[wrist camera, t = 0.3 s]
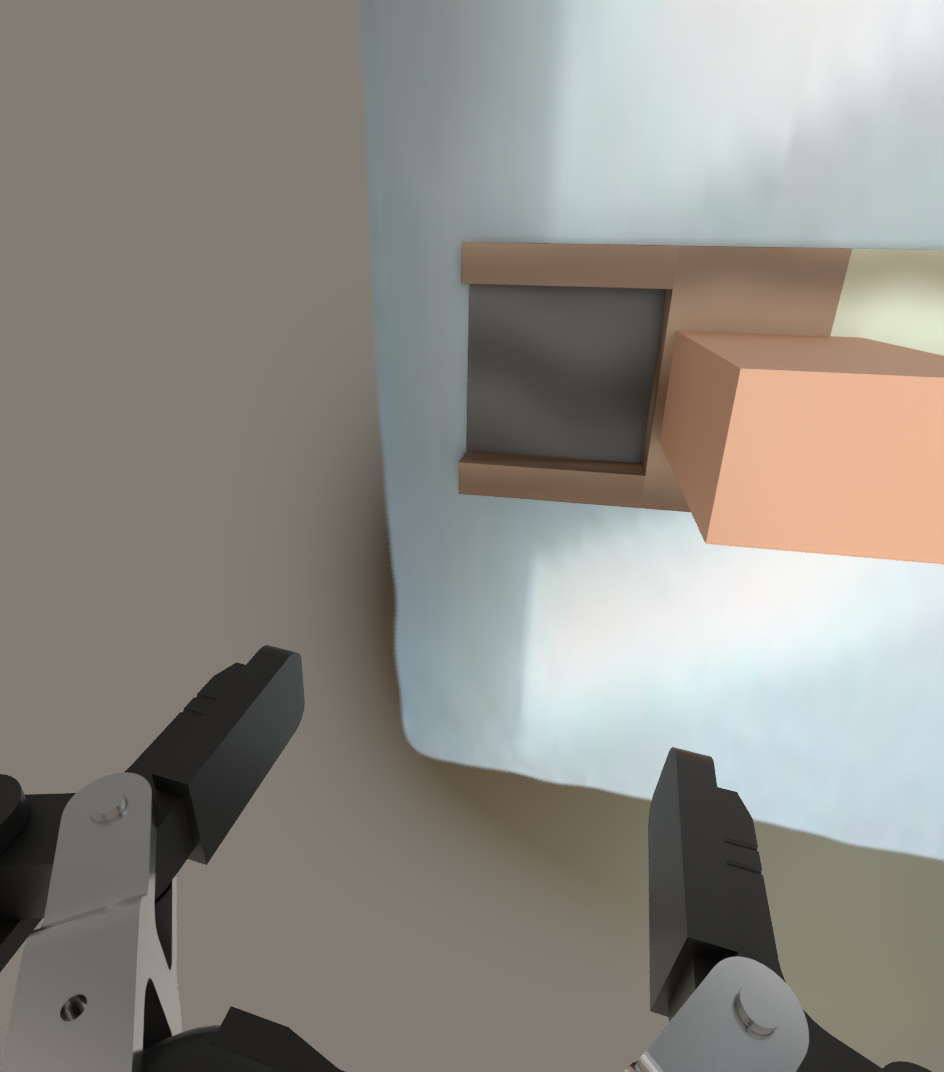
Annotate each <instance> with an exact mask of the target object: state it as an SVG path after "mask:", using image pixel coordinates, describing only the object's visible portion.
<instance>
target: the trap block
mask: <svg viewBox="0 0 944 1072" xmlns="http://www.w3.org/2000/svg"><path fill="white" fill-rule="evenodd" d="M659 443H660V445H661V447H662V449H663V452H664V454H665V456H666V458H667V460H668V462H669V465H670V467H671V469H672V471H673V473H674V476H675V478H676V480H677V482H678V484H679V486H680V489H681V491H682V493H683V495H684V497H685V500H686V502H687V504H688V506H689V508H690V510H691V513H692V515H693V517H694V519H695V521H696V523H697V526H698V528H699V530H700V532H701V534H702V537H703V539H704V541H705V543H706V544H716V545H727V546H739V547H750V548H762V549H774V550H785V551H797V552H808V553H820V554H831V555H843V556H854V557H866V558H878V559H889V560H901V561H912V562H924V563H935V564H944V356H943V355H938V354H934V353H929V352H925V351H920V350H916V349H911V348H907V347H902V346H898V345H893V344H889V343H884V342H880V341H875V340H871V339H866V338H860V337H833V336H806V335H779V334H752V333H725V332H698V331H677V332H676V338H675V345H674V351H673V358H672V364H671V371H670V377H669V384H668V390H667V397H666V403H665V410H664V416H663V423H662V429H661V436H660V442H659Z"/></svg>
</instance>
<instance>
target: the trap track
mask: <svg viewBox="0 0 944 1072" xmlns="http://www.w3.org/2000/svg"><path fill="white" fill-rule="evenodd" d="M461 283H465V284H470V296H469V348H468V401H467V451H466V453H465V454H464V456H463V457H462V459H461V460H460V462H459V494H470V495H483V496H495V497H508V498H520V499H533V500H546V501H558V502H571V503H583V504H596V505H609V506H621V507H634V508H646V509H659V510H672V511H684V512H691V510H690V508H689V506H688V504H687V502H686V500H685V497H684V495H683V493H682V491H681V489H680V486H679V484H678V482H677V480H676V478H675V476H674V473H673V471H672V469H671V467H670V465H669V462H668V460H667V458H666V456H665V454H664V452H663V449H662V447H661V445H660V443H659V442H660V436H661V429H662V423H663V416H664V410H665V403H666V397H667V390H668V384H669V377H670V371H671V364H672V358H673V351H674V345H675V338H676V332H677V331H698V332H725V333H752V334H779V335H806V336H833V337H860V338H866V339H871V340H875V341H880V342H884V343H889V344H893V345H898V346H902V347H907V348H911V349H916V350H920V351H925V352H929V353H934V354H938V355H943V356H944V250H906V249H846V248H787V247H728V246H668V245H609V244H550V243H490V242H462V281H461Z"/></svg>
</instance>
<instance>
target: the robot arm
mask: <svg viewBox="0 0 944 1072" xmlns="http://www.w3.org/2000/svg"><path fill="white" fill-rule="evenodd" d="M301 662H302V661H301V656H300V654H299V653H296V652H292V651H288V650H284V649H280V648H276V647H272V646H268V645H266V646H263V647H262V648H261V649H260V650H259V651H258V652H257V653H256V654H255V656H253V658H252V659H251V660H250V661H249V662H248V663H247V665H244V664H240V663H235V664H233V665H232V666H230V667H228V668H227V669H225V670H223V671H222V672H220V673H218V674H217V675H215V676H213V678H212V679H211V680H210V681H209V682H208V683H207V684H206V685H205V686H204V687H203V688H202V689H201V691H200V692H199V693H198V694H197V697H196V698H193V699H192V700H191V701H190V702H189V704H188V705H187V706H186V707H185V708H184V711H183V712H182V713H181V712H180V713H179V714H178V716H176V718H175V719H174V720H173V721H172V722H171V723H170V724H169V725H168V726H167V727H166V728H165V730H164V731H163V732H162V733H161V734H160V735H159V736H158V737H157V738H156V740H154V741H153V743H152V744H151V745H150V746H149V747H148V748H147V749H146V750H145V751H144V752H143V753H142V754H141V756H140V757H139V758H138V759H137V760H136V761H135V762H134V763H133V764H132V765H131V766H130V767H129V768H128V769H127V770H126V771H125V772H122V773H114V774H110V775H106V776H103V777H101V778H98V779H96V780H94V781H92V782H90V783H89V784H87V785H86V786H84V787H83V788H82V789H80V790H79V791H78V792H77V793H67V794H36V795H24V793H23V790H22V788H21V786H20V784H19V782H18V781H17V780H16V779H14V778H13V777H11V776H8V775H2V774H0V972H1V971H2V969H3V968H4V967H5V965H6V964H7V963H8V962H9V960H10V959H11V958H12V957H13V955H14V954H15V953H16V951H17V950H18V949H19V947H20V946H21V945H22V944H23V942H24V941H25V940H26V942H25V945H24V948H23V952H22V957H21V962H20V967H19V972H18V977H17V982H16V988H15V993H14V998H13V1003H12V1008H11V1014H10V1019H9V1024H8V1029H7V1034H6V1039H5V1044H4V1050H3V1055H2V1060H1V1065H0V1072H344V1071H341V1070H340V1069H338V1068H337V1067H335V1066H334V1065H333V1064H332V1063H331V1062H329V1061H328V1060H327V1059H326V1058H325V1057H323V1056H322V1055H321V1054H320V1053H319V1052H317V1051H316V1050H315V1049H314V1048H312V1047H311V1046H310V1045H309V1044H308V1043H307V1042H305V1041H304V1040H303V1039H302V1038H301V1037H299V1036H298V1035H297V1034H296V1033H295V1032H293V1031H292V1030H291V1029H290V1028H289V1027H286V1026H283V1025H281V1024H278V1023H275V1022H272V1021H269V1020H267V1019H264V1018H261V1017H259V1016H256V1015H253V1014H250V1013H248V1012H245V1011H242V1010H240V1009H237V1008H234V1007H230V1009H229V1011H228V1013H227V1015H226V1017H225V1019H224V1021H223V1022H222V1024H221V1025H217V1026H216V1025H215V1026H207V1027H200V1028H196V1029H192V1030H188V1031H185V1032H182V1022H181V1011H180V1002H179V995H178V987H177V928H176V927H177V913H176V910H177V909H176V908H177V905H176V904H177V899H176V898H177V897H176V896H177V895H176V894H177V893H176V892H177V891H176V890H177V886H176V874H177V873H178V871H179V870H180V868H181V867H182V866H183V864H184V863H185V861H186V860H187V859H190V860H193V861H196V862H199V863H203V864H206V865H207V863H208V862H209V860H210V859H211V857H212V856H213V854H214V853H215V851H216V850H217V848H218V847H219V845H220V844H221V842H222V841H223V839H224V838H225V836H226V835H227V833H228V832H229V830H230V829H231V827H232V826H233V824H234V823H235V821H236V820H237V818H238V817H239V815H240V814H241V812H242V811H243V809H244V808H245V806H246V805H247V803H248V802H249V800H250V799H251V797H252V796H253V794H254V793H255V791H256V790H257V788H258V787H259V785H260V784H261V782H262V781H263V779H264V778H265V776H266V775H267V773H268V772H269V770H270V769H271V767H272V766H273V764H274V763H275V761H276V760H277V758H278V757H279V755H280V754H281V752H282V751H283V749H284V748H285V746H286V745H287V743H288V742H289V740H290V739H291V737H292V736H293V734H294V733H295V731H296V730H297V728H298V726H299V723H300V721H301V718H302V715H303V711H304V688H303V676H302V663H301ZM648 845H649V928H650V929H649V930H650V931H649V935H650V936H649V938H650V1011H652V1012H655V1013H658V1014H661V1015H664V1016H667V1017H669V1023H668V1024H667V1026H666V1027H665V1028H664V1029H663V1031H662V1032H661V1033H660V1034H659V1035H658V1037H657V1038H656V1039H655V1041H654V1042H653V1043H652V1044H651V1045H650V1046H649V1048H648V1049H647V1050H646V1051H645V1053H644V1054H643V1055H642V1056H641V1057H640V1058H639V1059H638V1060H637V1061H636V1062H633V1063H632V1064H631V1065H630V1066H629V1067H628V1068H627V1069H626V1070H625V1071H624V1072H931V1071H930V1070H928V1069H926V1068H923V1067H921V1066H919V1065H916V1064H913V1063H909V1062H900V1061H899V1062H892V1063H890V1064H888V1065H886V1066H885V1067H884V1068H883V1069H882V1068H880V1067H879V1066H877V1065H876V1064H874V1063H873V1062H871V1061H870V1060H868V1059H867V1058H865V1057H864V1056H862V1055H861V1054H859V1053H857V1052H856V1051H855V1050H853V1049H852V1048H850V1047H848V1046H847V1045H845V1044H844V1043H842V1042H841V1041H839V1040H838V1039H836V1038H835V1037H833V1036H832V1035H830V1034H829V1033H828V1032H826V1031H825V1030H824V1029H822V1028H821V1027H820V1026H819V1025H818V1024H817V1023H815V1022H814V1021H813V1020H812V1019H811V1018H810V1017H809V1015H808V1014H807V1013H806V1012H805V1011H804V1010H803V1009H802V1007H801V1005H800V1003H799V1001H798V999H797V998H796V996H795V994H794V993H793V992H792V990H791V989H790V988H789V986H788V985H787V984H786V982H785V980H784V977H783V975H782V972H781V969H780V965H779V961H778V955H777V950H776V944H775V939H774V934H773V928H772V922H771V917H770V911H769V906H768V900H767V895H766V890H765V884H764V879H763V875H761V871H762V868H761V862H760V857H759V852H757V847H758V846H757V840H756V835H755V829H754V824H753V819H752V817H751V815H750V814H749V812H748V810H747V809H746V807H745V805H744V803H743V802H742V800H741V798H740V797H739V795H738V793H737V792H734V791H730V790H726V789H722V788H718V787H717V783H716V775H715V768H714V762H713V759H712V757H710V756H706V755H702V754H698V753H694V752H690V751H686V750H682V749H678V748H674V747H672V748H671V749H670V751H669V754H668V756H667V759H666V762H665V764H664V767H663V770H662V773H661V775H660V778H659V781H658V784H657V786H656V789H655V792H654V795H653V798H652V802H651V807H650V813H649V824H648ZM42 918H44V920H43V923H42V926H41V928H40V929H37V930H34V928H35V927H36V926H37V925H38V923H39V922H40V921H41V919H42ZM33 930H34V931H33Z"/></svg>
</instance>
